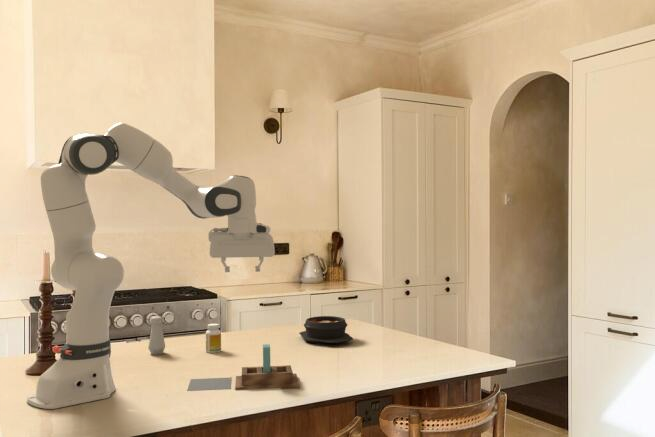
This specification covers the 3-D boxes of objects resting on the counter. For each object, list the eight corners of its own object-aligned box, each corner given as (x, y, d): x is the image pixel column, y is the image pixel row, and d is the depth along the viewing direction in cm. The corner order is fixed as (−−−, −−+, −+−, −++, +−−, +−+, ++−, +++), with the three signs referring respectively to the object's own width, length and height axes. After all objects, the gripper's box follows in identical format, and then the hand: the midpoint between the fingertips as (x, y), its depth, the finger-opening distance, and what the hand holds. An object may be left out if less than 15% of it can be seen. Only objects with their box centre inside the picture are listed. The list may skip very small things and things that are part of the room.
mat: (186, 392, 169) (186, 390, 169) (190, 380, 181) (190, 379, 181) (230, 390, 171) (230, 388, 171) (231, 378, 182) (231, 377, 182)
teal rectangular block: (263, 382, 175) (263, 347, 175) (263, 378, 179) (262, 344, 179) (270, 382, 175) (270, 347, 175) (270, 378, 179) (269, 344, 179)
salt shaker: (144, 354, 215) (144, 317, 215) (156, 350, 220) (156, 314, 220) (157, 356, 212) (156, 318, 212) (168, 352, 217) (168, 316, 217)
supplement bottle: (224, 350, 219) (224, 323, 219) (214, 353, 215) (214, 326, 215) (212, 349, 222) (212, 322, 222) (202, 352, 217) (202, 325, 217)
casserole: (288, 338, 240) (287, 317, 240) (326, 332, 251) (326, 312, 251) (324, 350, 219) (324, 326, 219) (364, 343, 230) (364, 321, 230)
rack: (235, 391, 170) (235, 376, 170) (236, 379, 182) (235, 366, 182) (299, 388, 172) (299, 374, 172) (296, 376, 184) (296, 363, 184)
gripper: (207, 228, 187) (208, 273, 187) (274, 227, 189) (275, 272, 189) (209, 227, 193) (209, 271, 193) (273, 227, 195) (274, 270, 196)
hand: (242, 271), depth 191 cm, fingers open, 8 cm apart
